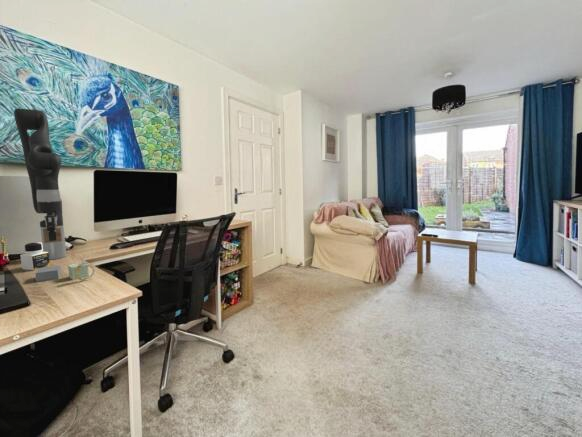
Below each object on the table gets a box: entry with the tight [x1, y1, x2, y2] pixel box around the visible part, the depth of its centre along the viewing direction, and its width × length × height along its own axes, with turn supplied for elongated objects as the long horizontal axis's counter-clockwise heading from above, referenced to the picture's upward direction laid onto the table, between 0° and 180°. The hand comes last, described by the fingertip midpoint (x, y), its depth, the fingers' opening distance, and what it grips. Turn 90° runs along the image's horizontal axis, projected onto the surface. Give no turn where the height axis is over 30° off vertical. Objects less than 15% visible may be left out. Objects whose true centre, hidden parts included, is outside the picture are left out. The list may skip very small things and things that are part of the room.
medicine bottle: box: [20, 241, 51, 271], centre depth 128 cm, size 7×7×12 cm
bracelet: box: [74, 261, 96, 282], centre depth 113 cm, size 7×3×8 cm, turn 134°
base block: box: [34, 265, 62, 283], centre depth 116 cm, size 7×7×4 cm
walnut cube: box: [43, 227, 62, 243], centre depth 117 cm, size 6×6×6 cm
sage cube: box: [67, 261, 90, 281], centre depth 117 cm, size 6×6×6 cm
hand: (53, 239), depth 117 cm, fingers closed on walnut cube, 5 cm apart
